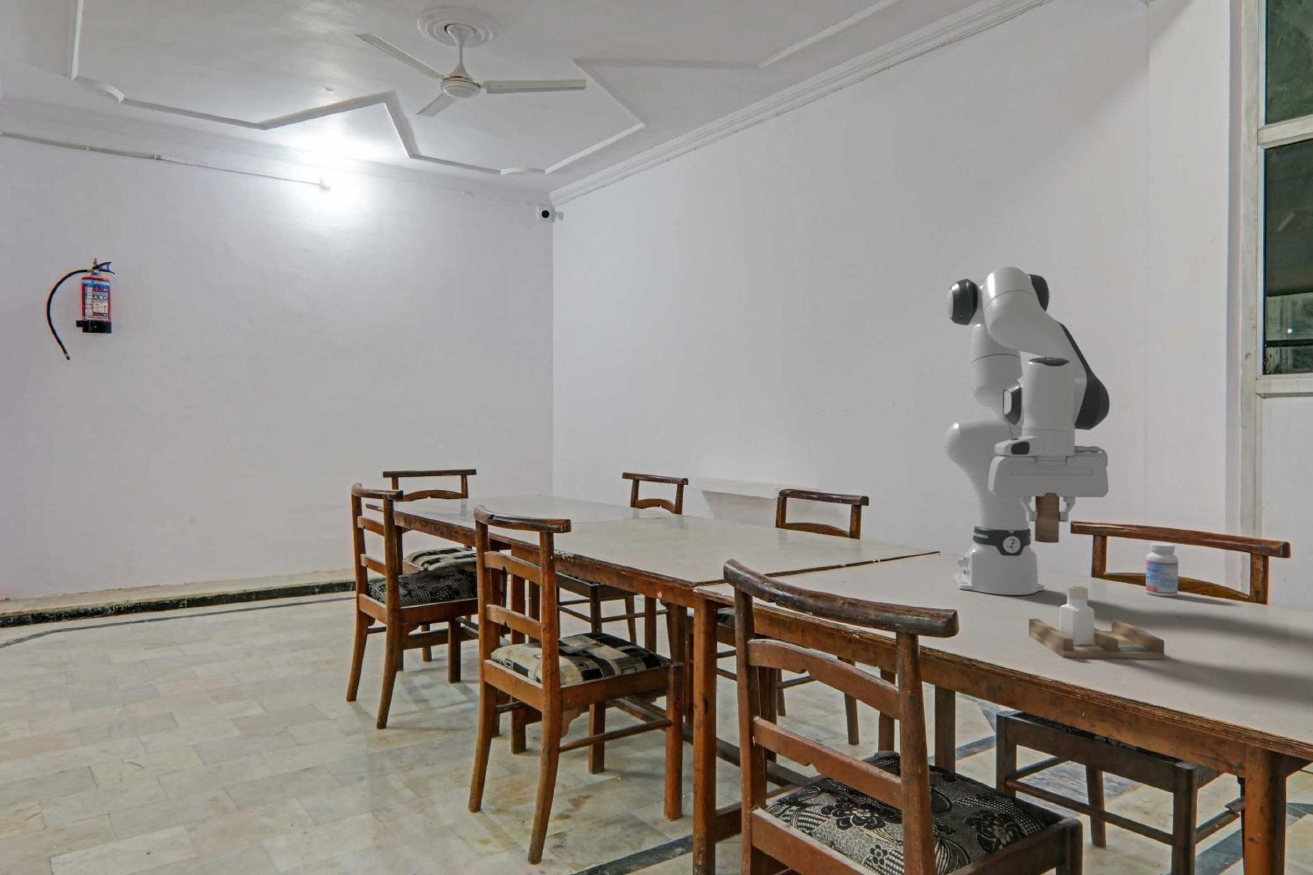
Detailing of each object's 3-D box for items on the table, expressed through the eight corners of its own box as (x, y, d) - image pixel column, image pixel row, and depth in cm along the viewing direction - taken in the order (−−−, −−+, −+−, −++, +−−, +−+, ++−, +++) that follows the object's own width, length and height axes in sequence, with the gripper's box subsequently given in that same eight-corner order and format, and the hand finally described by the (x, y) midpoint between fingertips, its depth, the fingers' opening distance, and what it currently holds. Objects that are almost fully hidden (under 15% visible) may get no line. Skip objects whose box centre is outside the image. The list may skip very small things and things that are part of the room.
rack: (1028, 635, 151) (1029, 618, 151) (1119, 636, 150) (1120, 619, 150) (1063, 657, 137) (1063, 638, 137) (1163, 658, 136) (1164, 640, 136)
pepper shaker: (1057, 640, 143) (1058, 585, 143) (1077, 639, 144) (1078, 584, 144) (1075, 647, 139) (1076, 590, 139) (1095, 645, 140) (1096, 588, 140)
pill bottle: (1140, 591, 190) (1141, 541, 190) (1169, 592, 189) (1170, 542, 189) (1152, 596, 184) (1153, 545, 184) (1182, 597, 183) (1183, 546, 183)
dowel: (1031, 539, 156) (1032, 491, 155) (1054, 539, 155) (1054, 491, 155) (1039, 542, 152) (1039, 492, 152) (1062, 542, 151) (1062, 493, 151)
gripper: (1100, 445, 155) (1099, 520, 156) (986, 444, 157) (985, 518, 158) (1115, 446, 149) (1114, 524, 149) (996, 445, 151) (995, 522, 151)
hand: (1046, 521), depth 153 cm, fingers closed on dowel, 4 cm apart
